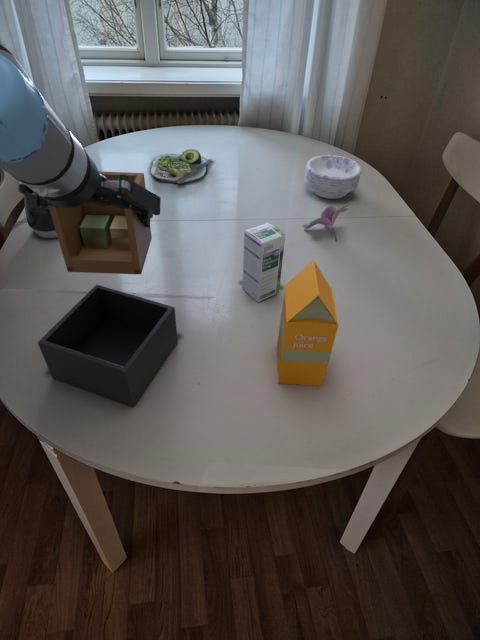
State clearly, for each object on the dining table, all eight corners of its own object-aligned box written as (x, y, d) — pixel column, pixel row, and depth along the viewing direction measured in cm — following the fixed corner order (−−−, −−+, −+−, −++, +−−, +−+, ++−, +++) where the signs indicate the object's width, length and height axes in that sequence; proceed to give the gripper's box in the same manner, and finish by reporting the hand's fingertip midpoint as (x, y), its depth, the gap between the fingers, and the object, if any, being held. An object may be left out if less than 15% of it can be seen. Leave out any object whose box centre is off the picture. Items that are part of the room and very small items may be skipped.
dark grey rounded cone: (26, 245, 100) (4, 183, 90) (40, 221, 108) (21, 162, 97) (70, 245, 101) (54, 184, 90) (81, 222, 108) (66, 163, 98)
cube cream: (113, 249, 71) (109, 228, 69) (118, 236, 74) (114, 215, 71) (137, 250, 71) (134, 229, 69) (141, 237, 74) (139, 216, 72)
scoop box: (67, 272, 68) (47, 202, 60) (85, 235, 76) (70, 170, 67) (141, 274, 68) (130, 206, 60) (151, 238, 76) (143, 173, 68)
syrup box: (258, 303, 88) (263, 243, 78) (240, 288, 91) (243, 228, 81) (279, 293, 91) (287, 234, 81) (261, 279, 94) (267, 220, 84)
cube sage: (84, 248, 71) (79, 227, 68) (90, 235, 74) (86, 214, 71) (108, 249, 71) (104, 228, 69) (114, 236, 74) (110, 215, 71)
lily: (351, 230, 112) (343, 194, 109) (364, 238, 101) (355, 197, 98) (306, 244, 113) (297, 208, 110) (314, 253, 102) (304, 214, 99)
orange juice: (318, 348, 79) (338, 259, 66) (322, 386, 73) (347, 296, 59) (275, 346, 80) (287, 256, 66) (277, 383, 73) (290, 293, 59)
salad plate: (206, 190, 123) (206, 174, 120) (144, 186, 123) (142, 171, 120) (213, 162, 137) (213, 147, 134) (157, 158, 137) (156, 144, 134)
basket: (52, 378, 72) (37, 342, 66) (105, 319, 83) (96, 284, 77) (133, 407, 69) (125, 372, 63) (177, 342, 79) (174, 306, 73)
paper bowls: (301, 201, 120) (305, 173, 115) (304, 177, 131) (308, 151, 126) (356, 207, 119) (362, 180, 113) (355, 183, 130) (361, 157, 124)
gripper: (-54, 195, 48) (35, 237, 70) (160, 203, 49) (182, 243, 70) (-50, 129, 48) (37, 192, 70) (163, 138, 49) (184, 197, 70)
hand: (110, 217), depth 70 cm, fingers closed on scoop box, 12 cm apart
